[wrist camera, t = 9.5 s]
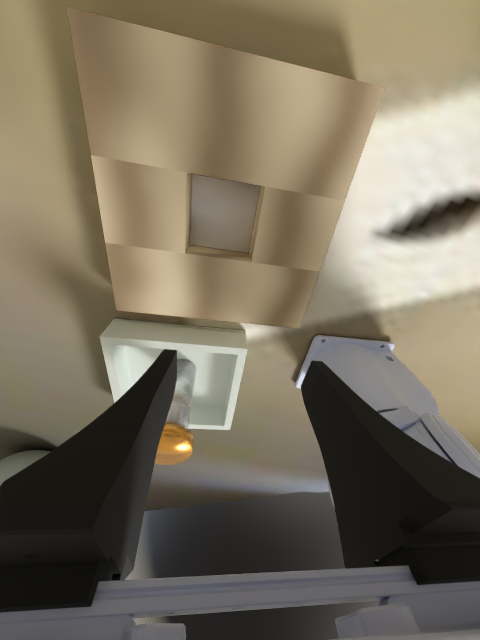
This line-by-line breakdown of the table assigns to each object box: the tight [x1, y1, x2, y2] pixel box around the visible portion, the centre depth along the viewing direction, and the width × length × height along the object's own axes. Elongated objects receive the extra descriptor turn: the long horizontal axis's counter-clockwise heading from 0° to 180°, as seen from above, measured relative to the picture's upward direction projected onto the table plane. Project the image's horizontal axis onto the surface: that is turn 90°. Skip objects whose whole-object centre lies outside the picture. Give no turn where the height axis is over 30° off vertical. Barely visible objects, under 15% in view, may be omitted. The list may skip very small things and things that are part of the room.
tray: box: [99, 318, 248, 430], centre depth 24 cm, size 13×13×3 cm
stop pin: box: [155, 359, 196, 465], centre depth 21 cm, size 4×4×9 cm
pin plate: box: [67, 7, 385, 329], centre depth 16 cm, size 16×16×2 cm
